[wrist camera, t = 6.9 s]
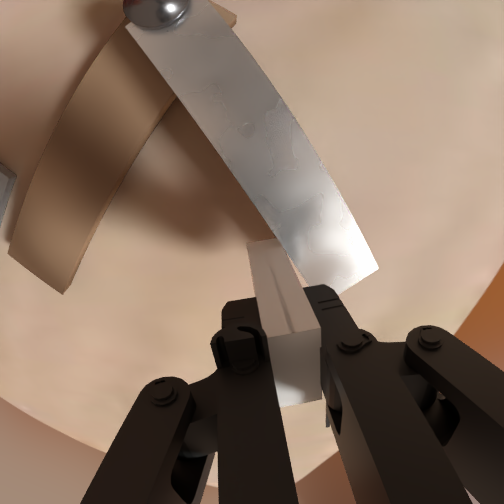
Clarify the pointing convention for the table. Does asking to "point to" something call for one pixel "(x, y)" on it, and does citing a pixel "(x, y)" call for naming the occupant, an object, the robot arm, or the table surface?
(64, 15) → the table surface
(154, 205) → the table surface
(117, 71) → the base
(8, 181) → the slate pad
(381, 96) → the table surface
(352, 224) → the bar
